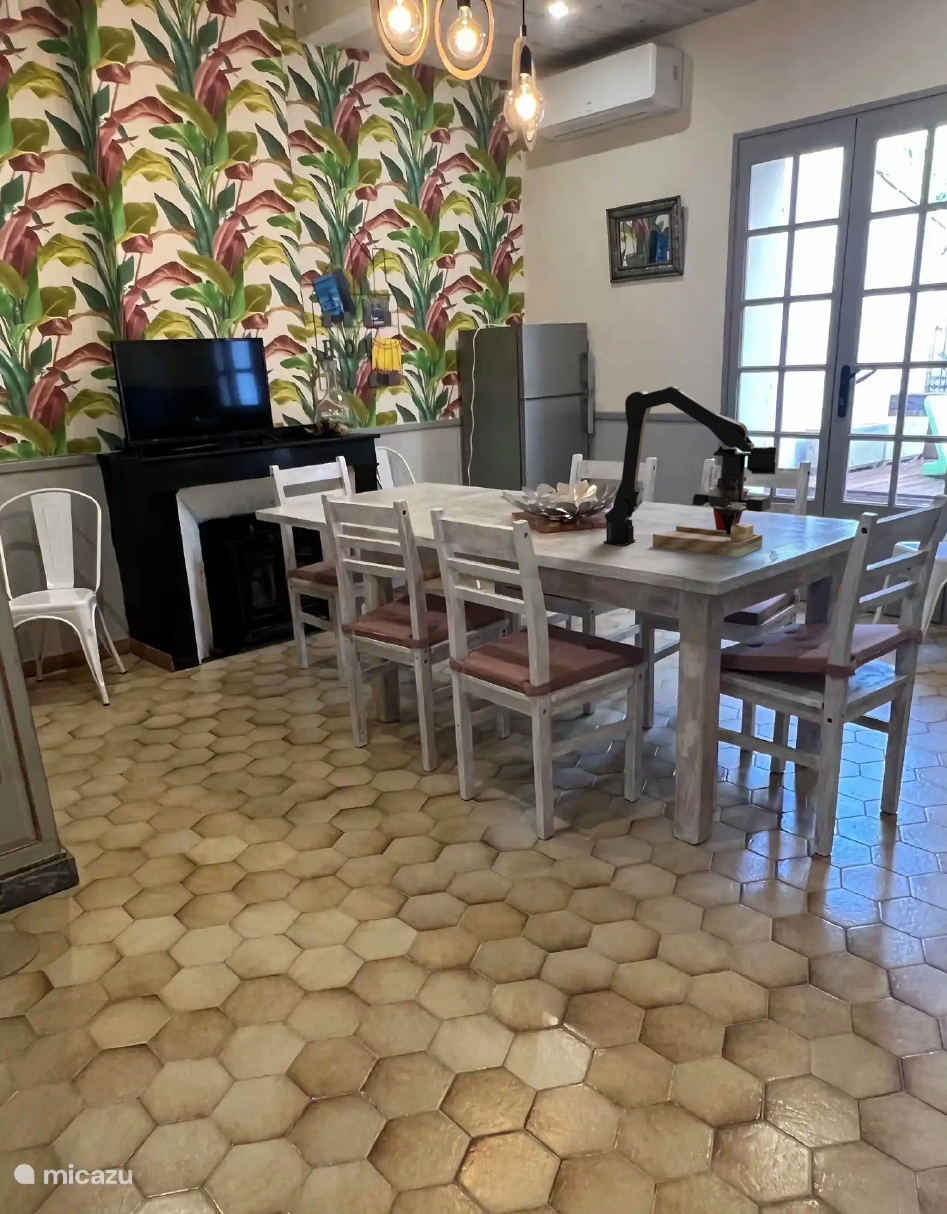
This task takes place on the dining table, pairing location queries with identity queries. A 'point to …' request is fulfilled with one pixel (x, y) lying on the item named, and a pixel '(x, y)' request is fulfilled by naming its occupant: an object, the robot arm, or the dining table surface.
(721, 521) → the plastic cup
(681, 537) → the wooden tray box
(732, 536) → the block
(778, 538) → the dining table surface
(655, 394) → the robot arm
